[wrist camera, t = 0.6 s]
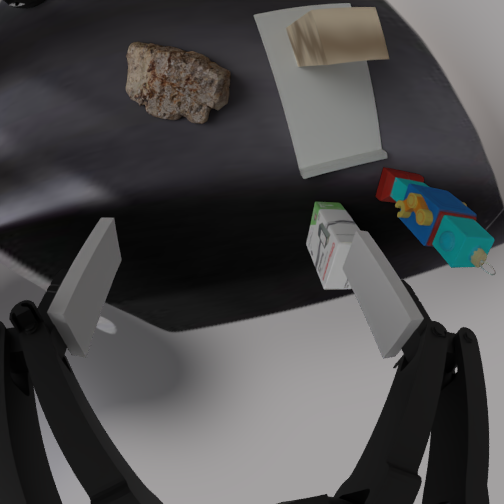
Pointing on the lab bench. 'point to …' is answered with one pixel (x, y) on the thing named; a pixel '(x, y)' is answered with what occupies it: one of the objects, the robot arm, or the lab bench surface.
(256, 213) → the lab bench surface
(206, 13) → the lab bench surface
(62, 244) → the lab bench surface
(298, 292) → the lab bench surface
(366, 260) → the robot arm
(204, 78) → the rock
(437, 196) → the toy robot
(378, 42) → the block
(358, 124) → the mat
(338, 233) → the ink box
